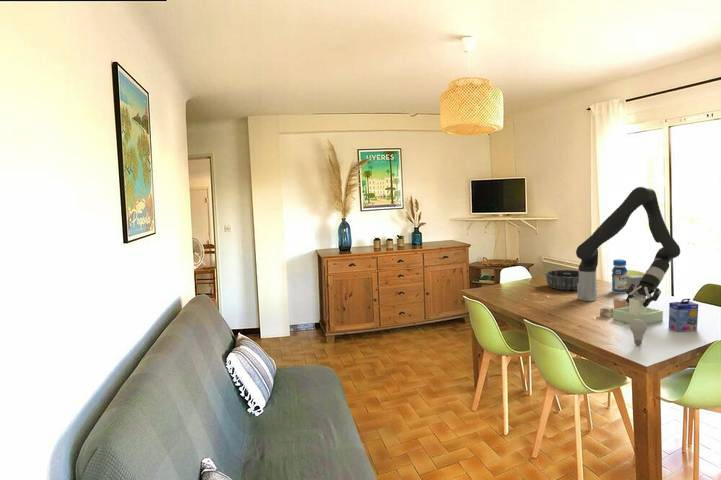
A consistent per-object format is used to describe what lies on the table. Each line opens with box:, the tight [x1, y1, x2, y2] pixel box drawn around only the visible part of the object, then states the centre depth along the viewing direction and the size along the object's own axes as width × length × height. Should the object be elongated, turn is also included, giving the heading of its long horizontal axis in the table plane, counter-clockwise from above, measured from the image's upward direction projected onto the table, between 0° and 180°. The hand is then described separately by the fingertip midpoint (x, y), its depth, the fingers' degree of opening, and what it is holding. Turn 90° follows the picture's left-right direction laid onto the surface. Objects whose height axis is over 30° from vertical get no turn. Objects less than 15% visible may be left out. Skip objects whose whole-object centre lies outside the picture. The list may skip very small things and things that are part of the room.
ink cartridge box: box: [668, 298, 699, 333], centre depth 191 cm, size 10×6×14 cm, turn 95°
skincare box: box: [626, 274, 647, 299], centre depth 236 cm, size 8×7×16 cm
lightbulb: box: [628, 319, 648, 346], centre depth 176 cm, size 6×6×11 cm
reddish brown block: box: [613, 297, 628, 310], centre depth 222 cm, size 6×6×7 cm
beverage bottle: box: [611, 258, 629, 294], centre depth 264 cm, size 8×8×20 cm
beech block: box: [599, 305, 614, 319], centre depth 218 cm, size 4×4×4 cm
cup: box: [628, 297, 647, 315], centre depth 208 cm, size 5×5×10 cm
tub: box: [612, 306, 664, 326], centre depth 209 cm, size 13×16×5 cm
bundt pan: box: [544, 269, 579, 291], centre depth 284 cm, size 26×26×10 cm
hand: (635, 304), depth 208 cm, fingers open, 8 cm apart
